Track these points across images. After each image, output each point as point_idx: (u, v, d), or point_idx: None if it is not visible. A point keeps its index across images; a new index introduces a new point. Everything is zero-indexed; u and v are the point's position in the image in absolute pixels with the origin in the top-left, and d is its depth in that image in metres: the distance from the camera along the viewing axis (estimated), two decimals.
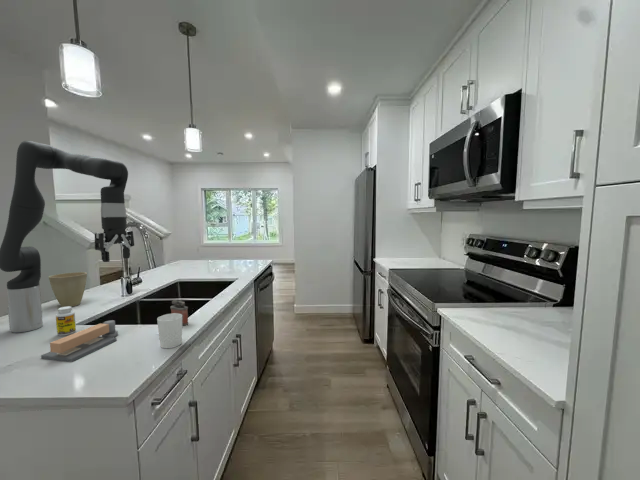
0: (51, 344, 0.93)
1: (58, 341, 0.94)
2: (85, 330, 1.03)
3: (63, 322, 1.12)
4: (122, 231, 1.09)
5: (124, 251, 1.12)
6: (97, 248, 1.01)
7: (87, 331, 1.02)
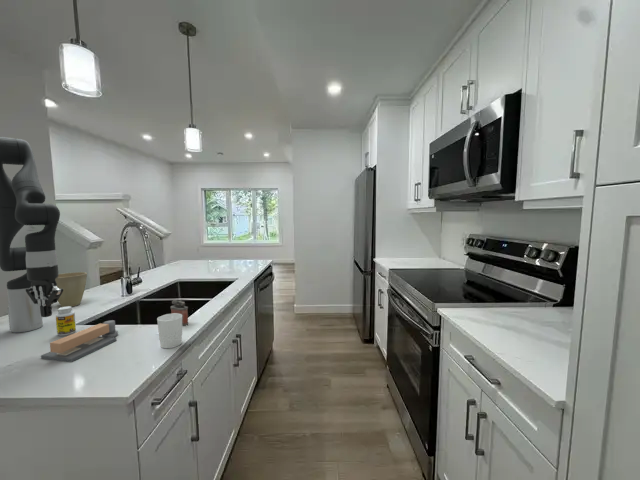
0: (51, 344, 0.93)
1: (58, 341, 0.94)
2: (85, 330, 1.03)
3: (63, 322, 1.12)
4: None
5: None
6: (51, 303, 0.96)
7: (87, 331, 1.02)
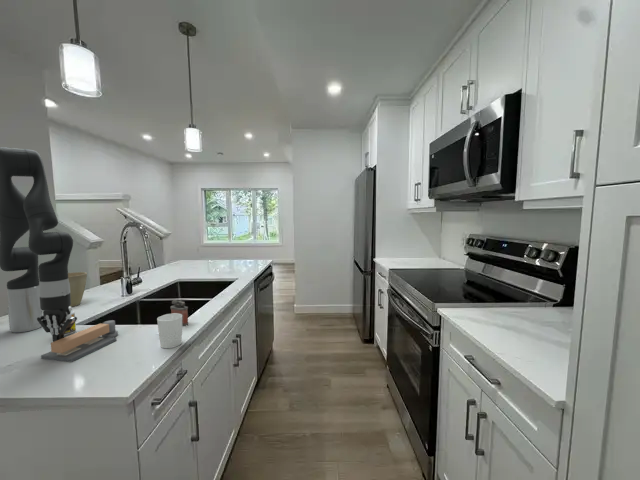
0: (52, 344, 0.93)
1: (59, 341, 0.94)
2: (85, 330, 1.03)
3: None
4: None
5: None
6: (65, 331, 0.96)
7: (88, 331, 1.02)
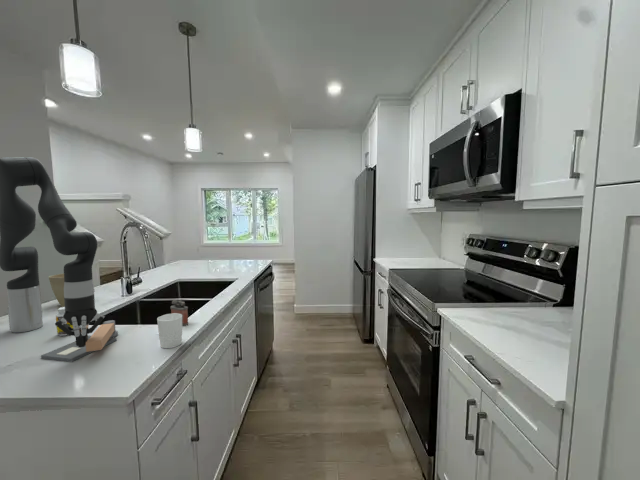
0: (88, 343, 0.93)
1: (93, 340, 0.95)
2: (100, 330, 1.03)
3: None
4: None
5: None
6: (92, 330, 0.97)
7: (105, 330, 1.03)
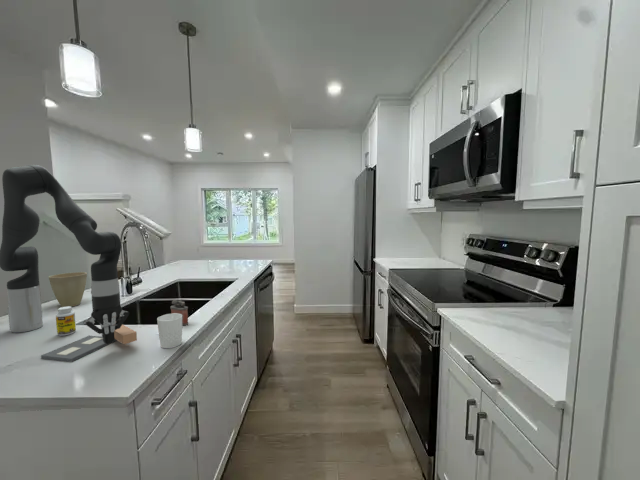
0: (125, 336, 0.99)
1: (127, 333, 1.00)
2: None
3: (63, 322, 1.12)
4: None
5: None
6: None
7: (121, 326, 1.07)
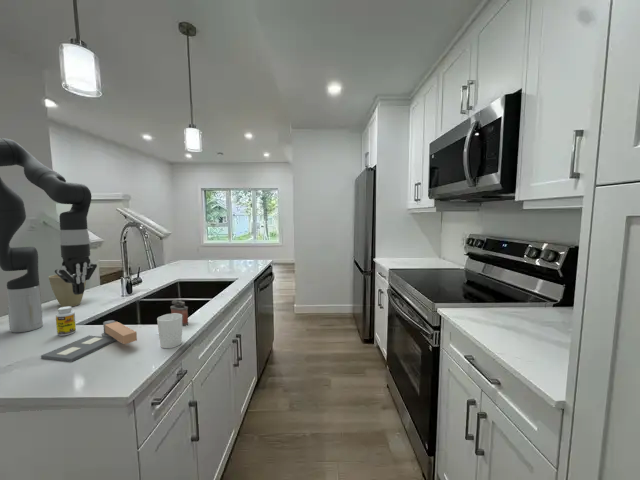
0: (125, 336, 0.99)
1: (127, 333, 1.00)
2: (115, 327, 1.06)
3: (63, 322, 1.12)
4: None
5: None
6: None
7: (121, 326, 1.07)
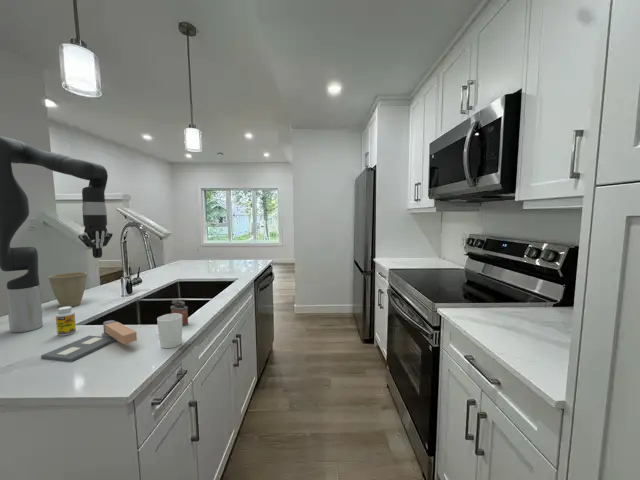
0: (125, 336, 0.99)
1: (127, 333, 1.00)
2: (115, 327, 1.06)
3: (63, 322, 1.12)
4: None
5: None
6: None
7: (121, 326, 1.07)
